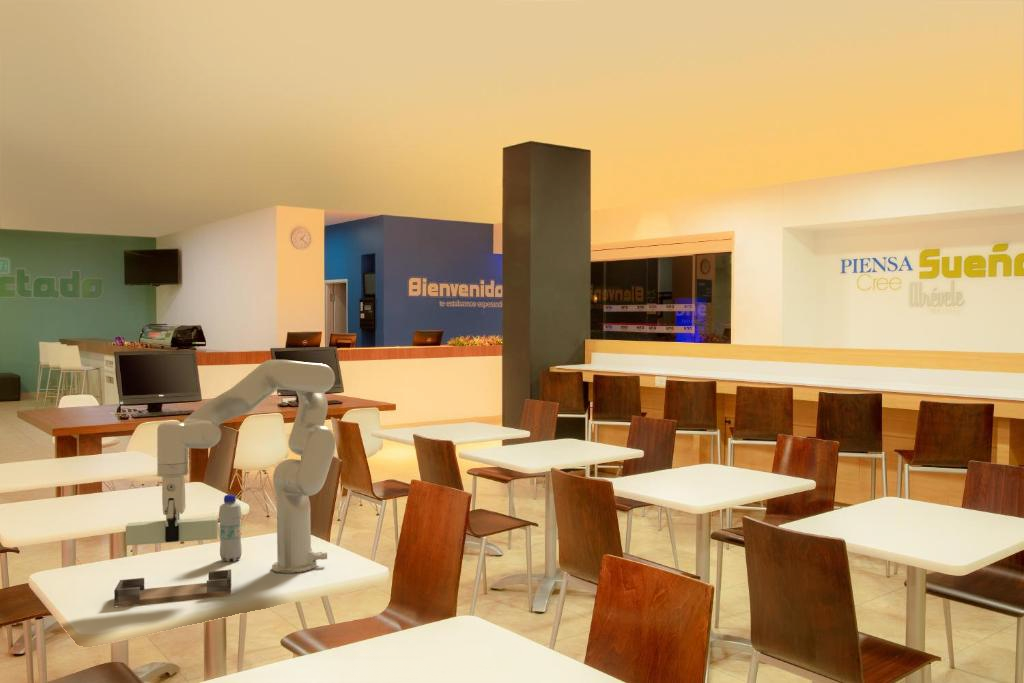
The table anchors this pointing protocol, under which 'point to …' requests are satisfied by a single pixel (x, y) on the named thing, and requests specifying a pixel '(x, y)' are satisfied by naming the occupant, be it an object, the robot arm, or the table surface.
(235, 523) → the bottle
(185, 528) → the slat
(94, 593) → the table surface
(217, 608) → the table surface
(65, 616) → the table surface
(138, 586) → the cradle
